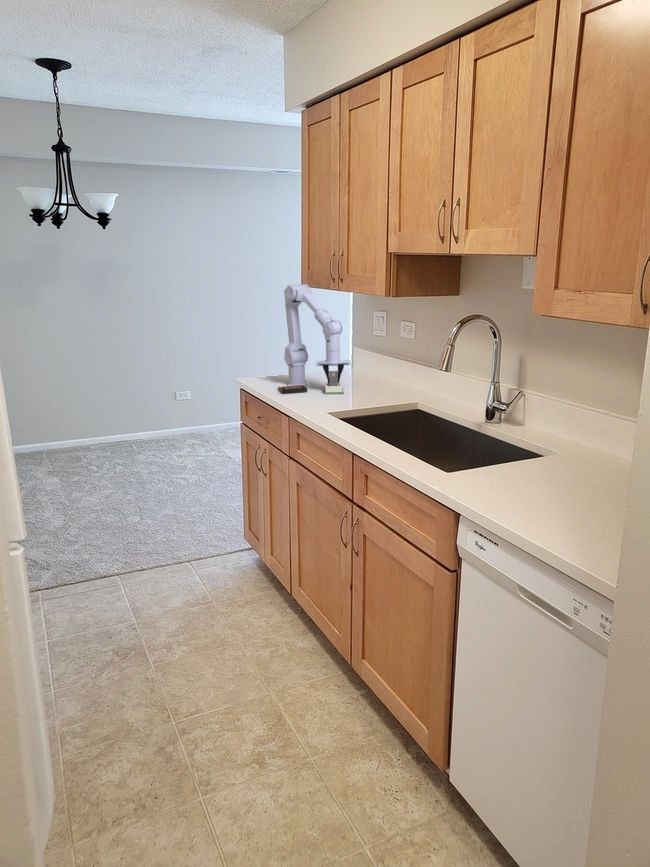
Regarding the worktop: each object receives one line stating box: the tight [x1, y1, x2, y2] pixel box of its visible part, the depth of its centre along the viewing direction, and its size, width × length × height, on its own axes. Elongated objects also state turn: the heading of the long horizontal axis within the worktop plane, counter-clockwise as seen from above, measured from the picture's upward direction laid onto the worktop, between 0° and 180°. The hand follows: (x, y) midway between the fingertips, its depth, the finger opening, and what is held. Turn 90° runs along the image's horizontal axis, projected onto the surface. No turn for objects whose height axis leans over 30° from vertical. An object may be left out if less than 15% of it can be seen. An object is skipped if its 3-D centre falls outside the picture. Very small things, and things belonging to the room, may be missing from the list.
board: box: [323, 382, 345, 395], centre depth 280 cm, size 10×8×3 cm
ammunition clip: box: [277, 385, 308, 395], centre depth 284 cm, size 11×2×12 cm
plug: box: [329, 370, 338, 386], centre depth 278 cm, size 4×4×7 cm
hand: (333, 382), depth 279 cm, fingers closed on plug, 3 cm apart
